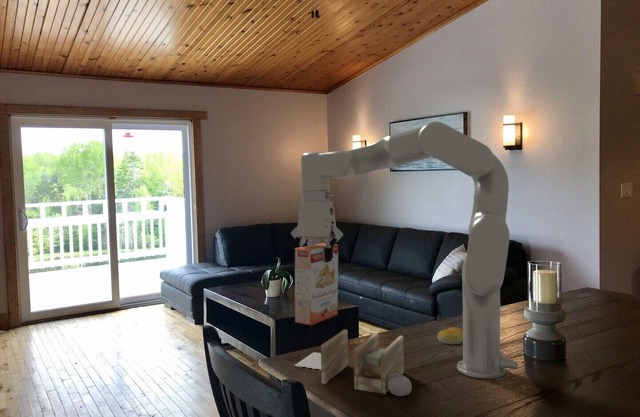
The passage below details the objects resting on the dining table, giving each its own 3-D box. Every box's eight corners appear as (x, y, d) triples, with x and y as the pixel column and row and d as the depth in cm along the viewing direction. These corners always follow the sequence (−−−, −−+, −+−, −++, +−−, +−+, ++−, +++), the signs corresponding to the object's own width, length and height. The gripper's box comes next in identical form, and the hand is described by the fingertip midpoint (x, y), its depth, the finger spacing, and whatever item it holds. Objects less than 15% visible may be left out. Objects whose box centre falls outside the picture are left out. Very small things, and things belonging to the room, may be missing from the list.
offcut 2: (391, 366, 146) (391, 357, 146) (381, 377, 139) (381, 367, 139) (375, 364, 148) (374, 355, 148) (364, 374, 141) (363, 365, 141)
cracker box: (312, 326, 150) (311, 249, 149) (294, 323, 154) (293, 247, 152) (339, 315, 162) (339, 243, 161) (322, 312, 165) (321, 242, 164)
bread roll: (432, 340, 177) (432, 328, 176) (453, 335, 181) (453, 323, 181) (450, 347, 170) (450, 334, 169) (472, 342, 174) (472, 329, 174)
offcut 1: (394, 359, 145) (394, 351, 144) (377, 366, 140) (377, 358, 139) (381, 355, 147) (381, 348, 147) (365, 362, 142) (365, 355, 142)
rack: (403, 373, 149) (403, 336, 148) (385, 393, 135) (384, 353, 134) (344, 364, 156) (344, 329, 155) (321, 383, 143) (320, 345, 142)
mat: (344, 357, 162) (344, 356, 162) (326, 371, 151) (326, 370, 151) (313, 353, 166) (313, 352, 166) (294, 366, 156) (294, 365, 156)
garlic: (383, 396, 134) (382, 374, 134) (393, 388, 139) (392, 367, 138) (406, 401, 131) (405, 379, 130) (415, 393, 135) (415, 372, 135)
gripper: (349, 196, 155) (350, 260, 156) (294, 196, 163) (296, 257, 164) (338, 197, 148) (340, 264, 150) (281, 197, 156) (283, 261, 157)
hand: (317, 260), depth 157 cm, fingers closed on cracker box, 6 cm apart
